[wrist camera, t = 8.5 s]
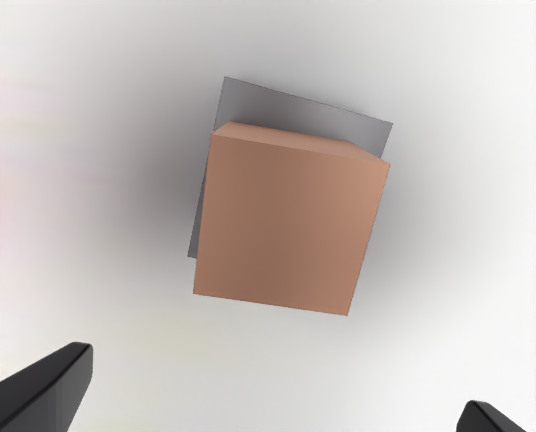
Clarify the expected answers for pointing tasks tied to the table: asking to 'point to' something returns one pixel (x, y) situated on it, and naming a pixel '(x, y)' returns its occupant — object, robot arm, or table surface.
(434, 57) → the table surface
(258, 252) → the terracotta block
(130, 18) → the table surface
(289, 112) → the gray box
